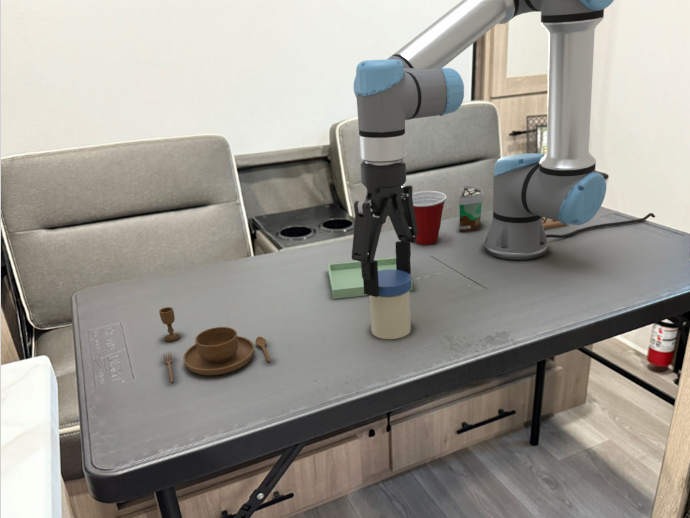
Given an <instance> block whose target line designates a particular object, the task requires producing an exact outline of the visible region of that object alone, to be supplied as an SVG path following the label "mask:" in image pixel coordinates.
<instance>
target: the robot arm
mask: <svg viewBox="0 0 690 518" xmlns="http://www.w3.org/2000/svg"><path fill="white" fill-rule="evenodd" d="M614 1H615V0H461V1H460V2H459V3H457V4H456V5H455V6H453V7H452V8H450V9H449V10H448V11H447V12H446V13H444V14H443V15H442V16H441V17H439V18H438V19H437V20H436V21H434V22H433V23H432V24H431V25H429V26H428V27H427V28H425V29H423V31H421V32H420V33H419V34H417V35H416V36H415V37H413V38H412V39H411V40H410V41H409V42H407V43H406V44H405V45H403V47H401V48H400V49H397V51H396V52H394V54H392V55H391V56H389V57H388V58H385V59H368V60H362V61H359V63H358V64H357V65H356V68H355V76H354V80H353V93H354V96H355V98H356V108H357V125H358V135H359V157H360V159H361V160H362V162H361V163H360V179H361V184H362V185H363V186H364V187H365V189H366V195H365V198H364V199H363V200H362V201H360V200H355V201H354V203H353V208H354V209H353V210H354V225H353V235H352V248H351V260H352V261H360V262H361V270H362V278H363V283H364V294H367V295H366V296H369V295H370V296H374V297H378V296H379V284H378V263H377V261H376V260H375V256H376V253H377V249H378V245H379V240H380V237H381V236H380V235H381V232H382V228H383V225H384V224H385V223H386V222H387V218H389V220H390V222H391V224H392V227H393V229H394V232H395V234H396V237H397V239H398V240H399V241H398V240H397V241H395V257H396V270H401V271H405V272H407V273H409V274H410V276H411V277H412V271H411V269H412V267H411V265H412V264H411V257H412V256H411V255H412V252H411V251H412V249H411V248H412V247H411V246H412V245H411V243H412V244H415V243H416V237H414V236H417V234H418V229H417V223H416V217H415V212H414V206H413V200H412V194H413V190H414V189H413V186H412V185H410V184H409V185H408V184H406V182H407V162H406V161H405V160H404V159H405V158H406V157H407V145H406V121H409V120H414V119H421V118H430V117H437V116H438V117H443V116H445V115H448V114H452V113H455V112H456V111H458V110H459V109H460V108H461V106H462V104H463V103H464V98H465V84H464V81H463V78H462V76H461V74H460V73H459V72H458V71H457V70H455V69H454V68H451V67H446V66H447V65H448V64H449V63H450V62H452V61H453V60H454V59H456V58H457V57H458V56H459V55H461V54H462V53H464V51H466V49H468V48H470V47H471V46H472V45H473V44H474V43H476V42H477V41H478V40H479V39H480V38H482V37H484V35H485V34H487V33H488V32H489V31H491V30H492V29H493V28H494V27H496V25H504V24H507V23H508V22H510V21H511V20H513V18H515V17H517V16H520V15H522V14H523V15H524V14H528V13H534V12H535V13H536V12H537V13H538V12H539V13H540V25H541V26H542V27H543V28H544V29H545V30H546V32H547V33H548V47H547V48H548V50H547V51H548V55H547V57H548V59H547V62H548V63H547V109H546V110H547V113H546V115H547V117H546V119H547V120H546V122H547V123H546V124H547V125H546V153H545V154H544V153H540V152H536V153H535V152H534V153H533V152H532V153H530V152H529V153H519V154H511V155H506V156H502V157H500V158H498V159H496V161H495V163H494V171H493V177H492V178H493V183H492V184H493V186H492V189H493V194H492V220H491V223H490V226H489V228H488V231H487V234H486V235H485V237H484V239H483V244H484V251H485V252H486V253H487V254H488V255H490V256H492V257H495V258H497V259H502V260H508V261H509V260H510V261H526V260H528V261H529V260H534V259H537V258H540V257H543V256H544V255H546V254H547V252H548V246H549V242H548V238H549V239H550V238H551V239H552V238H555V239H564V238H568V237H572V236H573V235H576V234H579V233H582V232H586V231H590V230H594V229H600V228H605V227H614V226H621V225H622V226H623V225H628V224H635V223H641V222H644V221H646V220H648V218H656V215H655V214H654V213H653V212H649V213H648V214H646V215H645V216H644V217H641V218H636V219H631V220H630V219H629V220H623V221H615V222H607V223H601V224H595V225H590V226H586V227H582V228H579V229H576V230H573V231H571V232H568V233H564V234H551V233H549V234H546V231H545V230H546V229H544V227H543V223H542V221H543V220H542V217H543V218H544V219H545V218H548V220H551V219H552V220H556V221H559V222H561V223H563V224H566V225H572V226H581V225H584V224H587V223H588V222H590V221H591V220H592V219H593V218H594V217H595V216H596V215H597V213H598V212H599V210H600V209H601V207H602V205H603V203H604V200H605V197H606V194H607V180H606V179H605V177H604V176H603V174H601V173H599V172H597V171H596V166H597V164H596V163H597V161H596V160H597V159H596V157H594V156H593V155H592V154H591V153H590V136H591V135H590V133H591V132H590V131H591V115H592V114H591V113H592V95H593V94H592V93H593V72H594V71H593V70H594V53H595V51H594V50H595V29H596V28H597V26H598V25H599V24H600V23H601V22H602V21H603V19H604V18H605V17H604V16H605V15H604V14H605V9H607V8H608V7H610V6H611V5H612V3H613V2H614Z"/></svg>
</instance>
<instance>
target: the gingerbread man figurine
mask: <svg viewBox="0 0 690 518" xmlns="http://www.w3.org/2000/svg"><path fill="white" fill-rule="evenodd" d="M542 223H543V227H544V230H547V229H553V228H559V227H565V226H567V224H563V223H561V222H559V221H556V220H552V219H549V218H545V217H542Z"/></svg>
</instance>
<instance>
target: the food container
mask: <svg viewBox="0 0 690 518" xmlns="http://www.w3.org/2000/svg"><path fill="white" fill-rule="evenodd" d="M485 199H486V197H485V193H484V191H483V189H482V188H481V187H478V186H473V185H463V191H462V192H461V196H459V199H458V201H459V202H458V206H459V233H467V232H474V231H476V230H479V229H480V227H481V215H482V207H483V206H482V205H483V201H485Z"/></svg>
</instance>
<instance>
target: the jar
mask: <svg viewBox="0 0 690 518" xmlns="http://www.w3.org/2000/svg"><path fill="white" fill-rule="evenodd" d="M368 296H369V313H370V314H369V315H370V327H371V333H372V336H374V337H376V338H379V339H382V340H397V339H398V340H399V339H401V338H404V337H406V336H408V335H409V334H410V333H411V331H412V323H411V322H412V320H411V319H412V317H411V291H410V290H409V291H408V292H407V293H405V294H402V295H398V296H392V297H382V296H378V297H374V296H370V295H368Z"/></svg>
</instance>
